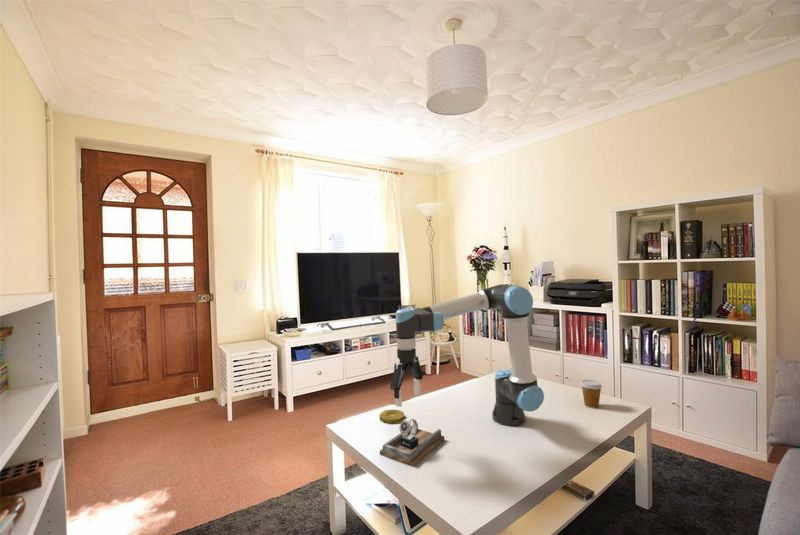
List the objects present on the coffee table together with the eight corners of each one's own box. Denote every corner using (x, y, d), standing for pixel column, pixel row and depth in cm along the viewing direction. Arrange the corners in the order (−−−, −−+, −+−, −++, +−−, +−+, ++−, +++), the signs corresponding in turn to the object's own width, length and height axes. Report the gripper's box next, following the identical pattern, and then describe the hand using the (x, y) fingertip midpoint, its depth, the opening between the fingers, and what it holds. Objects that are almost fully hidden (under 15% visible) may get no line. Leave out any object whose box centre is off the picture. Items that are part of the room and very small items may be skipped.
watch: (397, 447, 151) (397, 420, 151) (411, 440, 157) (410, 414, 157) (408, 452, 148) (407, 424, 147) (421, 444, 153) (420, 417, 153)
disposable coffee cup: (602, 404, 193) (602, 381, 192) (601, 410, 185) (600, 386, 184) (582, 401, 198) (582, 378, 197) (580, 407, 190) (579, 383, 189)
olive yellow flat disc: (400, 425, 176) (400, 420, 175) (376, 422, 179) (375, 418, 179) (407, 415, 187) (407, 410, 187) (384, 412, 191) (384, 408, 190)
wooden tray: (444, 439, 160) (444, 430, 160) (413, 466, 140) (413, 455, 140) (412, 430, 169) (412, 422, 169) (379, 454, 149) (379, 444, 149)
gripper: (415, 340, 163) (417, 389, 164) (379, 353, 143) (381, 409, 144) (430, 342, 159) (431, 392, 160) (395, 356, 139) (397, 413, 139)
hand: (408, 400), depth 152 cm, fingers open, 13 cm apart
